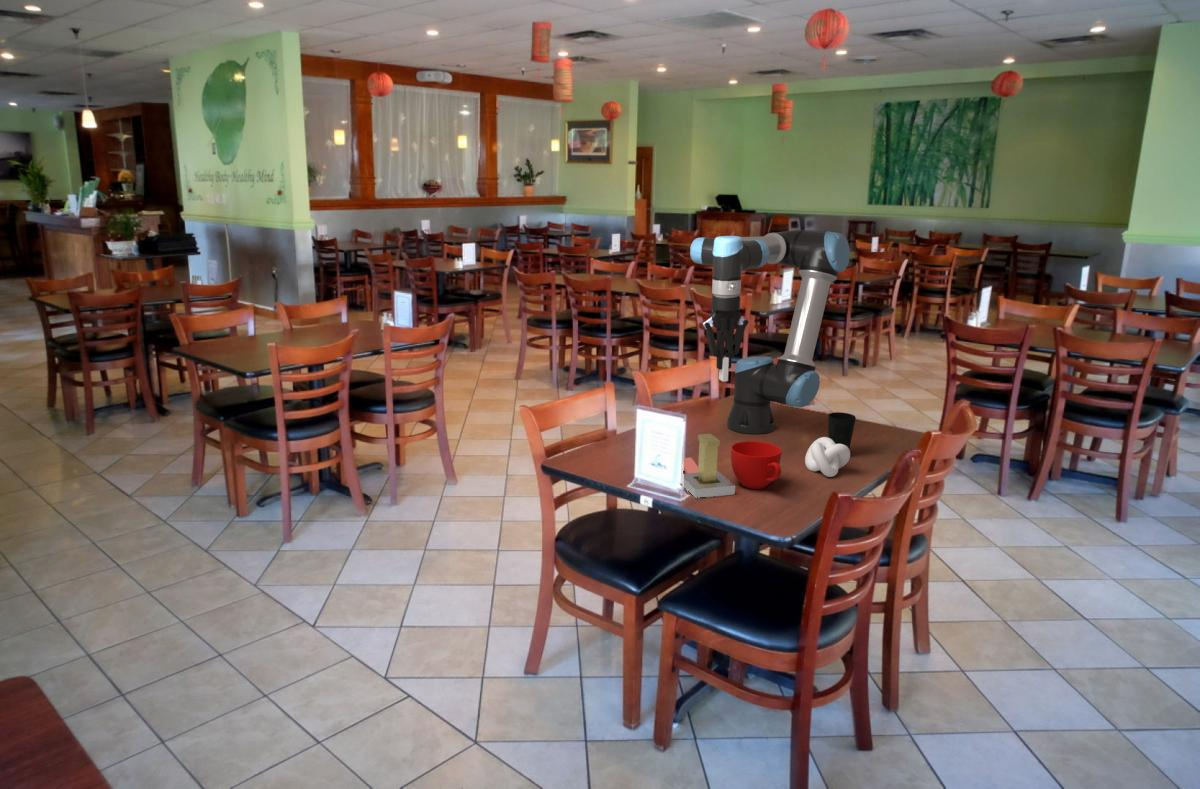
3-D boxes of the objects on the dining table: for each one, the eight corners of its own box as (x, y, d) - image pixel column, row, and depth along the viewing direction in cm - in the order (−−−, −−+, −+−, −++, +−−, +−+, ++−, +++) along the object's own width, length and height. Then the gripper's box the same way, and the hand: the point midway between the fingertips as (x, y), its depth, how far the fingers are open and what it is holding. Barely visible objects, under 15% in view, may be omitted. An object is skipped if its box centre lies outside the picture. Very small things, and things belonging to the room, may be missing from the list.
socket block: (678, 483, 214) (679, 474, 213) (716, 479, 217) (717, 470, 216) (694, 498, 204) (695, 489, 203) (734, 494, 207) (735, 485, 206)
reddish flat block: (676, 463, 224) (676, 457, 223) (691, 461, 225) (692, 456, 224) (689, 481, 215) (690, 475, 214) (705, 480, 216) (706, 474, 216)
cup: (853, 460, 233) (857, 420, 230) (825, 458, 235) (829, 418, 232) (850, 451, 241) (854, 413, 237) (824, 449, 242) (827, 411, 239)
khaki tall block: (695, 485, 213) (697, 434, 209) (708, 484, 214) (710, 433, 210) (704, 493, 207) (707, 441, 204) (717, 492, 208) (720, 440, 205)
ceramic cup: (755, 502, 202) (758, 464, 200) (719, 479, 217) (721, 444, 214) (798, 495, 207) (801, 458, 205) (760, 473, 222) (762, 438, 220)
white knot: (841, 483, 216) (844, 451, 213) (796, 475, 221) (799, 444, 219) (850, 470, 225) (854, 440, 223) (808, 463, 231) (810, 433, 229)
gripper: (709, 298, 211) (706, 385, 218) (754, 295, 215) (751, 381, 221) (698, 294, 218) (696, 378, 225) (742, 291, 221) (739, 374, 228)
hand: (723, 380), depth 223 cm, fingers closed
